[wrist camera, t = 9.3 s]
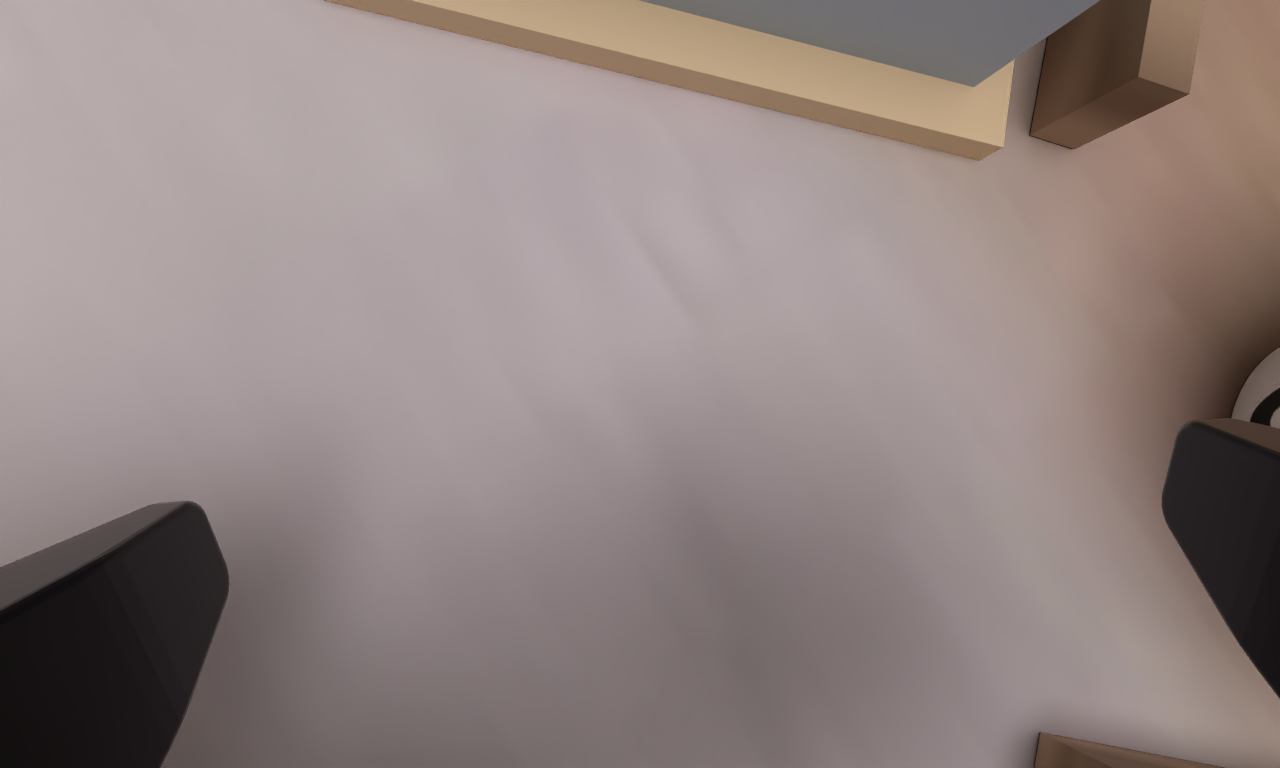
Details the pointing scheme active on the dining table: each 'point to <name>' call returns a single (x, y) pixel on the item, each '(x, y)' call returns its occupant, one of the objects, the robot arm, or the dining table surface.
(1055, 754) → the narrow slot
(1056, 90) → the bay
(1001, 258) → the dining table surface
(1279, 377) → the cup
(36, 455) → the dining table surface
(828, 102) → the tea caddy
